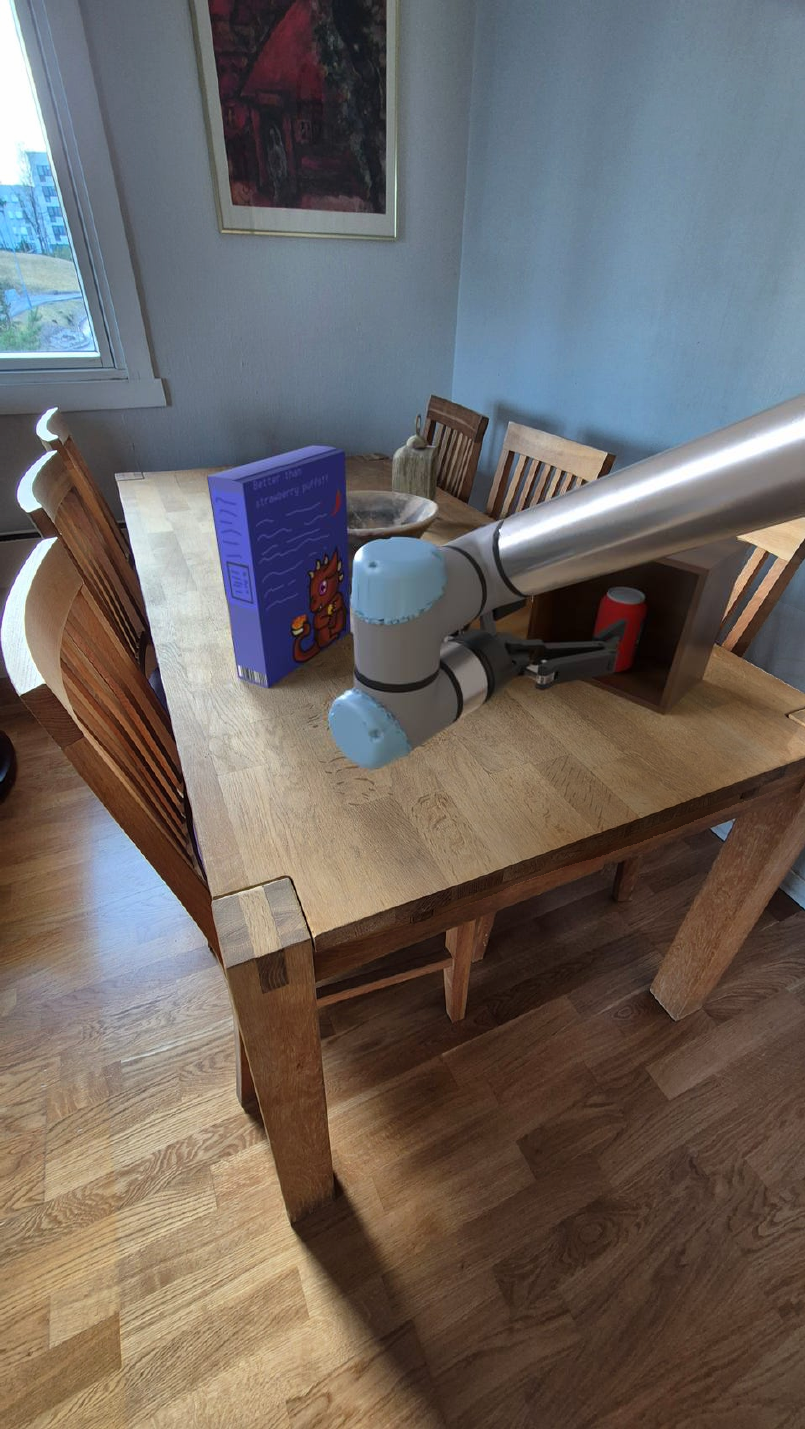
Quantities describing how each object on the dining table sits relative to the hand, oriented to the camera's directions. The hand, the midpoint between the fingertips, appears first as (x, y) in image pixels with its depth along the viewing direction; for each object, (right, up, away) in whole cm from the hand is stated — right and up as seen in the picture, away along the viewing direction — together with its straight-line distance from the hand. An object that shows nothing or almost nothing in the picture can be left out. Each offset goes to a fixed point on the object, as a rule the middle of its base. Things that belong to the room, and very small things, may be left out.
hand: (571, 611), depth 77 cm
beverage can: (+12, -5, +23) cm, 26 cm away
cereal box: (-38, -3, +26) cm, 46 cm away
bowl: (-27, +15, +52) cm, 60 cm away
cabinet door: (-12, -6, +21) cm, 25 cm away
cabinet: (+13, -5, +24) cm, 27 cm away
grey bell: (-18, +36, +82) cm, 92 cm away
